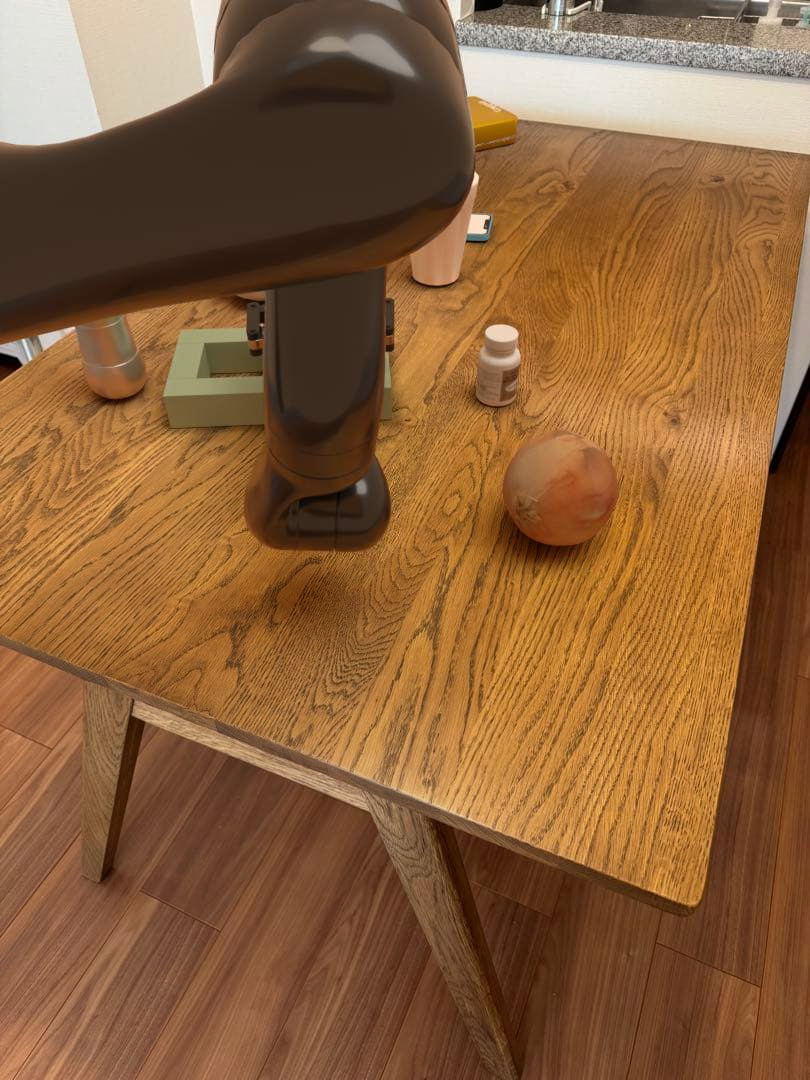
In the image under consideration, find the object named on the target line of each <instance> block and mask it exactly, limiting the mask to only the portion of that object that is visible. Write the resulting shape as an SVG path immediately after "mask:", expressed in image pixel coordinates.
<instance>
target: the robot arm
mask: <svg viewBox="0 0 810 1080" xmlns="http://www.w3.org/2000/svg"><path fill="white" fill-rule="evenodd" d="M214 31H215V32H214V39H213V41H214V42H213V43H214V44H213V63H212V66H213V67H212V83H211V84H210V85H208V86H207V87H205V88H204V89H202V90H200V91H199V92H197V93H196V92H195V93H194V94H193V95H192V94H191V96H188V97H186V98H184V99H183V100H180V101H179V102H176V103H174V104H171V105H169V106H166V107H165V108H162V109H160V110H157V111H155V112H153V113H150V114H148V115H145V116H142V117H138V118H136V119H133V120H131V121H127V122H125V123H121V124H119V125H116V126H113V127H110V128H106V129H105V130H102V131H98V132H95V133H92V134H90V135H86V136H82V137H78V138H74V139H70V140H66V141H62V142H56V143H47V144H40V145H38V144H16V143H12V142H5V141H0V346H2V345H6V344H9V343H14V342H18V341H22V340H25V339H30V338H34V337H38V336H42V335H46V334H50V333H54V332H59V331H62V330H66V329H71V328H73V327H74V328H75V326H79V325H83V324H88V323H92V322H96V321H100V320H104V319H108V318H112V317H117V316H121V315H125V314H126V315H130V314H134V313H138V312H142V311H148V310H153V309H157V308H163V307H168V306H176V305H181V304H187V303H193V302H199V301H205V300H213V299H220V298H225V297H232V296H237V295H240V294H246V293H253V292H260V291H265V301H264V304H260V303H259V302H258V301H251V302H248V303H247V305H246V322H245V323H246V324H245V325H246V326H245V328H246V333H247V339H248V345H249V351H250V355H251V356H254V357H257V356H260V355H262V354H263V372H262V376H263V409H264V424H263V426H264V445H263V447H262V448H261V450H260V453H259V455H258V456H257V458H256V460H255V462H254V464H253V466H252V469H251V471H250V474H249V477H248V480H247V483H246V486H245V492H244V498H243V514H244V520H245V524H246V526H247V529H248V531H249V532H250V534H251V535H252V537H253V538H254V539H255V540H256V541H257V542H258V543H260V544H262V545H263V546H264V547H267V548H269V549H273V550H278V551H292V552H293V551H294V552H295V551H299V552H327V553H329V552H330V553H331V552H332V553H333V552H335V553H360V552H364V551H368V550H370V549H372V548H373V547H374V546H376V545H377V544H379V542H380V541H381V540H382V538H383V537H384V536H385V534H386V532H387V530H388V528H389V526H390V525H389V524H390V522H391V517H392V516H391V515H392V498H391V492H390V488H389V483H388V480H387V477H386V475H385V472H384V470H383V468H382V465H381V463H380V461H379V458H378V457H377V456H376V454H375V453H376V448H377V441H378V437H379V431H380V424H381V420H380V419H381V413H382V406H383V397H384V383H385V356H386V352H388V353H392V352H393V351H395V322H396V321H395V319H396V318H395V299H394V298H392V297H387V282H388V281H387V278H388V277H387V276H388V265H390V264H393V263H395V262H398V261H400V260H402V259H404V258H406V257H408V256H411V255H410V254H412V253H414V252H416V251H418V250H419V249H421V248H422V247H424V246H425V245H427V244H428V243H430V242H431V241H432V240H434V239H435V238H436V237H438V236H439V235H440V234H441V233H442V232H443V231H444V230H445V229H446V228H447V227H448V226H449V225H450V224H451V223H452V221H453V220H454V219H455V217H456V216H457V215H458V213H459V212H460V211H461V209H462V207H463V205H464V203H465V201H466V199H467V197H468V195H469V192H470V190H471V187H472V183H473V179H474V173H475V172H476V152H475V138H474V131H473V124H472V118H471V112H470V106H469V101H468V97H469V96H468V90H467V85H466V84H467V83H466V79H465V72H464V67H463V62H462V58H461V52H460V46H459V41H458V37H457V36H458V35H457V31H456V26H455V21H454V19H453V16H452V12H451V9H450V6H449V2H448V0H221V1H220V5H219V10H218V15H217V19H216V24H215V28H214Z"/></svg>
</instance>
